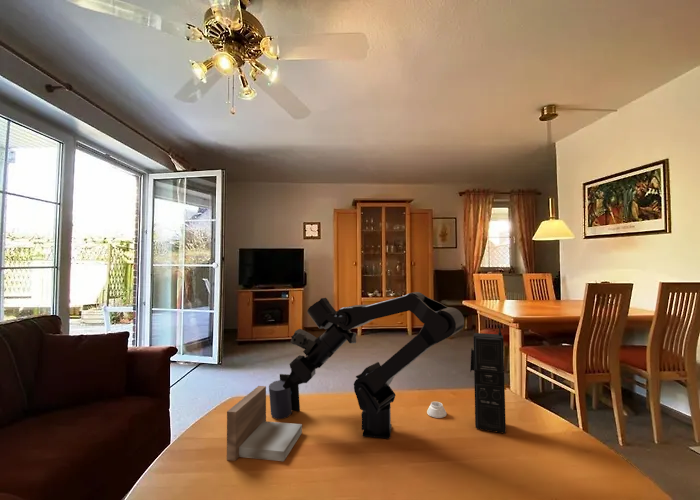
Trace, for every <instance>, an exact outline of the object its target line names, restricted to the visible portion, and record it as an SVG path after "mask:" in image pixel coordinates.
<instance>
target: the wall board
mask: <svg viewBox="0 0 700 500" xmlns="http://www.w3.org/2000/svg"><path fill="white" fill-rule="evenodd" d="M302 433H303V424H302V423H290V422H279V421H278V422H277V421H267V386H266V385H258V386H257V387H255V388H254V389H253V390H251V392H249V393H248V394H247V395H245V396H244V397H243V398H241V400H239V401H238V402H237V403H235V404H234V405H233V406H232V407H231V408H229V409H228V410H227V411H226V461H232V462H233V461H235V462H236V461H237V460H238V459H239V458H249V459H257V460H268V461H274V462H275V461H278V462H285V461H286V459H287V457H288V456H289V454H290V452H291V451H292V449H293V447H294V446H295V445H296V443H297V441H298V440H299V438H300V437H301V435H302Z"/></svg>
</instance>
